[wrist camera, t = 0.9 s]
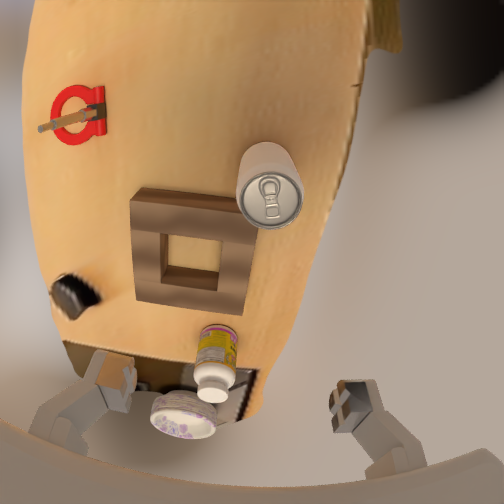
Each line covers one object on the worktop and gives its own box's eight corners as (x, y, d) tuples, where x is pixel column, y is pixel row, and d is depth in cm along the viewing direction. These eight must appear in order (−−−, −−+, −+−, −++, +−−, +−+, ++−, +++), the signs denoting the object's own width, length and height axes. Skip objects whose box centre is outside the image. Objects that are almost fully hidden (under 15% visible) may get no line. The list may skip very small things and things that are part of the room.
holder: (141, 187, 38) (129, 200, 35) (259, 202, 40) (260, 216, 36) (144, 282, 47) (136, 300, 43) (243, 296, 48) (242, 315, 44)
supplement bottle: (236, 349, 55) (233, 408, 44) (200, 345, 54) (191, 404, 44) (238, 324, 51) (235, 386, 40) (200, 321, 51) (189, 382, 40)
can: (289, 138, 35) (304, 163, 25) (294, 186, 38) (309, 230, 28) (236, 144, 36) (228, 172, 25) (244, 192, 39) (240, 237, 29)
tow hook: (57, 146, 35) (109, 140, 35) (-3, 176, 24) (51, 169, 24) (53, 91, 31) (106, 79, 30) (-12, 106, 20) (42, 86, 19)
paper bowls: (227, 393, 63) (225, 423, 57) (207, 418, 71) (205, 444, 64) (161, 374, 60) (154, 404, 53) (151, 403, 68) (145, 428, 61)
